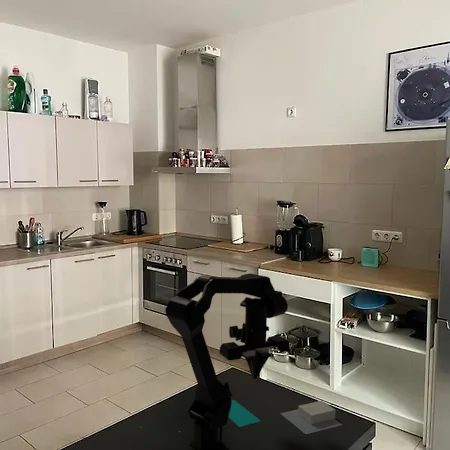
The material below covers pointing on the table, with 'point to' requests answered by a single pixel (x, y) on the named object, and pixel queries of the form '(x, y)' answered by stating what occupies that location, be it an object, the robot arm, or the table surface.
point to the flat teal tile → (241, 415)
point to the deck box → (316, 412)
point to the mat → (306, 426)
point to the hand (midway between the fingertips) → (254, 378)
